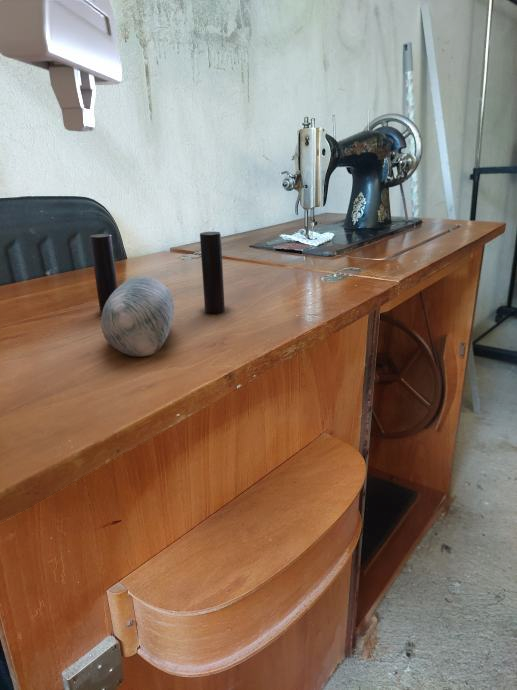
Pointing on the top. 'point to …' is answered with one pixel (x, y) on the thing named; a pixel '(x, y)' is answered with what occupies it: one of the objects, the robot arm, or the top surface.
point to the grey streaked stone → (138, 316)
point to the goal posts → (210, 270)
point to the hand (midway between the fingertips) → (80, 131)
